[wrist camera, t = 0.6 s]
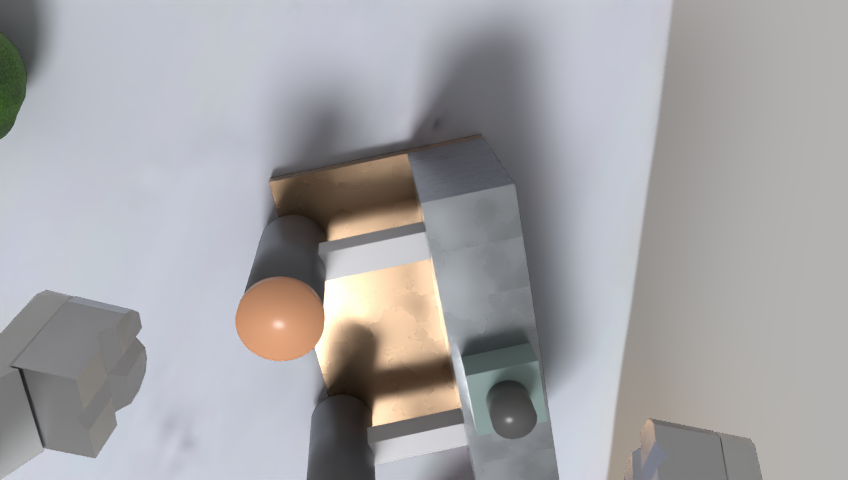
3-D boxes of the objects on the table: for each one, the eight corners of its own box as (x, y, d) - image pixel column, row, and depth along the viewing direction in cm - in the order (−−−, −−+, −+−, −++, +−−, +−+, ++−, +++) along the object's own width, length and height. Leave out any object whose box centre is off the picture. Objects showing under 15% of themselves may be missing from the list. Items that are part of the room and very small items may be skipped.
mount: (270, 177, 49) (250, 239, 39) (480, 134, 50) (515, 183, 39) (348, 460, 58) (349, 571, 48) (527, 422, 58) (565, 523, 48)
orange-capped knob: (250, 221, 49) (224, 293, 39) (436, 182, 49) (459, 243, 39) (268, 284, 51) (249, 368, 41) (448, 246, 51) (473, 321, 41)
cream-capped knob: (303, 401, 54) (292, 505, 44) (471, 365, 54) (499, 460, 44) (318, 452, 56) (311, 564, 46) (481, 417, 56) (510, 521, 46)
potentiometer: (460, 357, 43) (471, 396, 39) (529, 342, 43) (546, 380, 39) (472, 415, 44) (483, 458, 41) (539, 401, 44) (556, 443, 41)
